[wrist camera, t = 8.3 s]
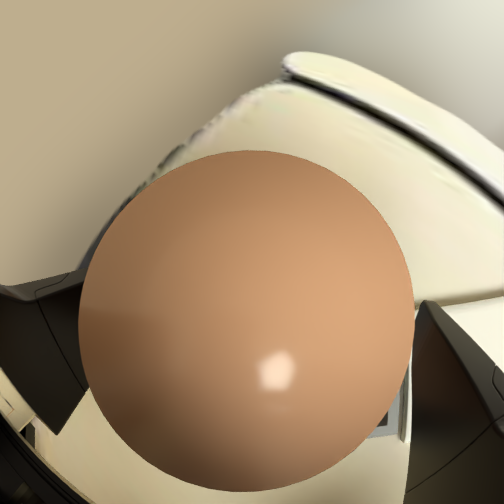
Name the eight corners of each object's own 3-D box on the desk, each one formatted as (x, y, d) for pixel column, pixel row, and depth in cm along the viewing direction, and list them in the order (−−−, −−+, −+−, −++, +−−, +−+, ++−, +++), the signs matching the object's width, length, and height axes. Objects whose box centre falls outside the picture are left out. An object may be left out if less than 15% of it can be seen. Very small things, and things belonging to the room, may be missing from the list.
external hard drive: (399, 314, 16) (532, 291, 13) (398, 438, 13) (535, 395, 10) (405, 310, 14) (544, 286, 12) (404, 445, 12) (547, 396, 9)
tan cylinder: (320, 403, 14) (307, 538, 2) (233, 366, 16) (49, 371, 4) (357, 315, 16) (447, 203, 4) (270, 282, 17) (164, 134, 6)
